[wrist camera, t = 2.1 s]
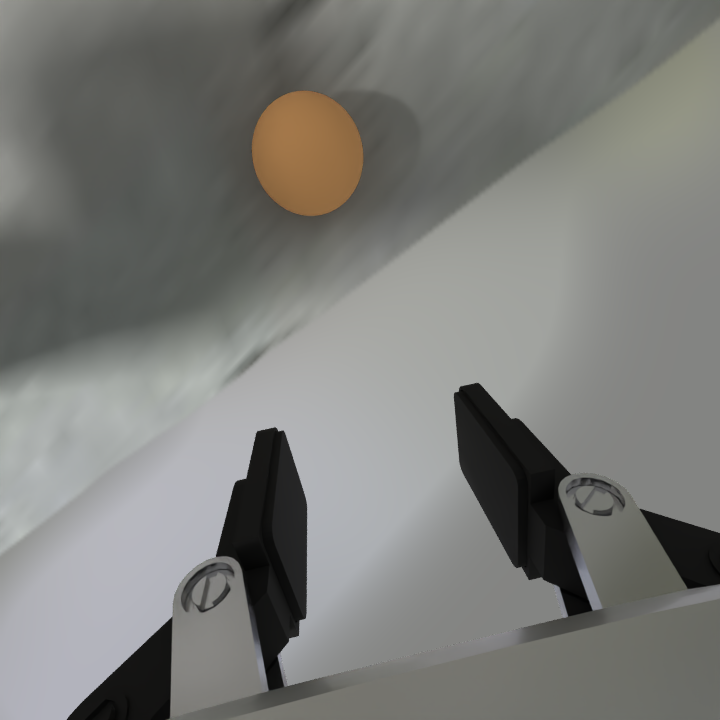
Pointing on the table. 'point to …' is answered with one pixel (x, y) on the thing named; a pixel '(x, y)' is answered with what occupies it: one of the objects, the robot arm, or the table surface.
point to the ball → (307, 153)
